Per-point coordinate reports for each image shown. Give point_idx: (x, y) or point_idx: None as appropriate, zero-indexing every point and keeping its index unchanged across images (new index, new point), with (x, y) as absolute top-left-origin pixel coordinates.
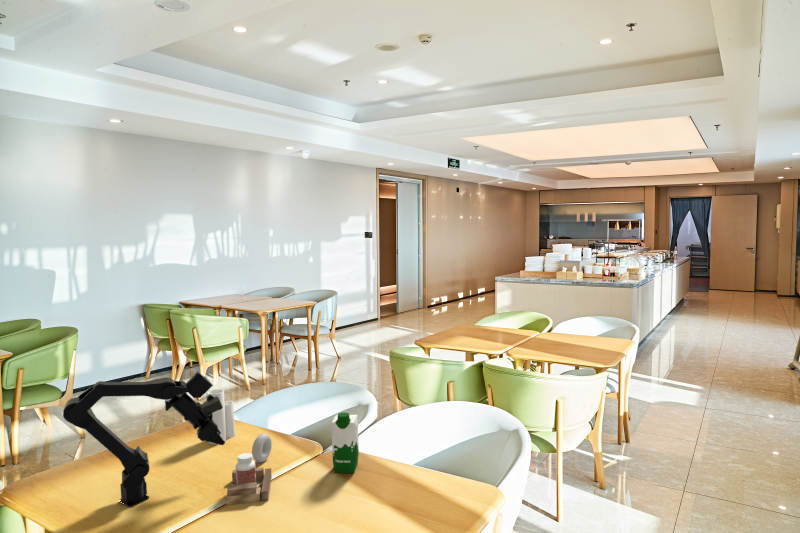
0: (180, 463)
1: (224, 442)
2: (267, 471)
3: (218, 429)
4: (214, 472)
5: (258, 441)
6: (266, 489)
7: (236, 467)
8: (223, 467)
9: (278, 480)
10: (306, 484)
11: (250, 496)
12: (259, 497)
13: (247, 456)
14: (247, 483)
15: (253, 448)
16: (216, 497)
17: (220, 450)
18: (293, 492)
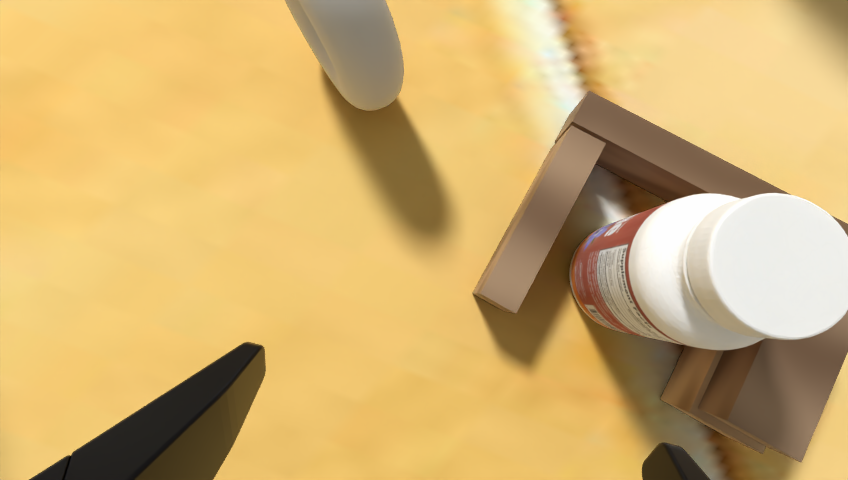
0: (15, 460)
1: (692, 461)
2: (616, 126)
3: (204, 386)
4: (296, 338)
5: (369, 4)
6: None
7: (726, 349)
8: (269, 271)
9: (632, 106)
10: (763, 21)
11: None
12: None
13: (813, 251)
14: None
15: (373, 75)
16: (608, 447)
17: (25, 193)
18: (804, 107)
